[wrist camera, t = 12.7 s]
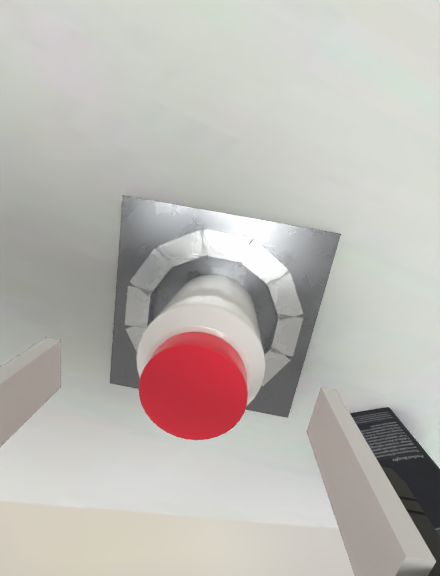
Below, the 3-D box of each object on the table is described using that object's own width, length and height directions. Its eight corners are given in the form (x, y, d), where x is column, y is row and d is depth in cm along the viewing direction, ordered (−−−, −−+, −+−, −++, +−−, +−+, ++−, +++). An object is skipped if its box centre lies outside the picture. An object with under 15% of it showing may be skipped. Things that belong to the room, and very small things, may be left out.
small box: (404, 487, 28) (500, 642, 18) (341, 496, 29) (398, 648, 18) (393, 404, 25) (496, 527, 15) (325, 416, 26) (380, 540, 16)
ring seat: (125, 195, 22) (116, 193, 20) (337, 233, 22) (346, 234, 20) (112, 379, 27) (103, 390, 25) (286, 413, 26) (290, 426, 25)
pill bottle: (194, 366, 25) (161, 474, 14) (155, 295, 23) (87, 358, 13) (269, 336, 24) (295, 431, 13) (234, 259, 22) (230, 295, 11)
